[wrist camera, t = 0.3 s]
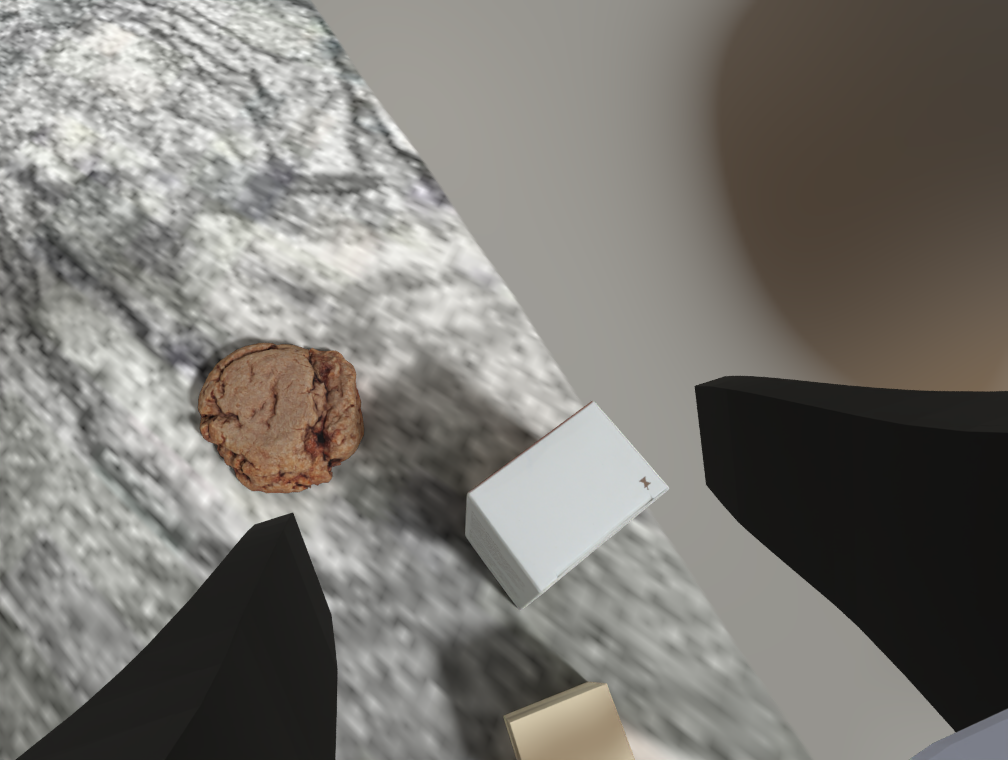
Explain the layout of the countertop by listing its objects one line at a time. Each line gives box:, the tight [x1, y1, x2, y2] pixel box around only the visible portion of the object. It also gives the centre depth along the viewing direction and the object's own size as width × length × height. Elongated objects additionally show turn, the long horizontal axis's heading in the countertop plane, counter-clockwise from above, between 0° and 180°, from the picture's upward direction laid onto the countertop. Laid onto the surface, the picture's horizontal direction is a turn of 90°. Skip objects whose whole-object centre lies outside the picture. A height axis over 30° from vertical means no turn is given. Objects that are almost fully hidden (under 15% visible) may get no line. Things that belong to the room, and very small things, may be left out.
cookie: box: [198, 343, 364, 493], centre depth 40 cm, size 10×11×3 cm
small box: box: [465, 401, 669, 610], centre depth 34 cm, size 8×6×10 cm
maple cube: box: [503, 682, 635, 760], centre depth 32 cm, size 5×5×5 cm
